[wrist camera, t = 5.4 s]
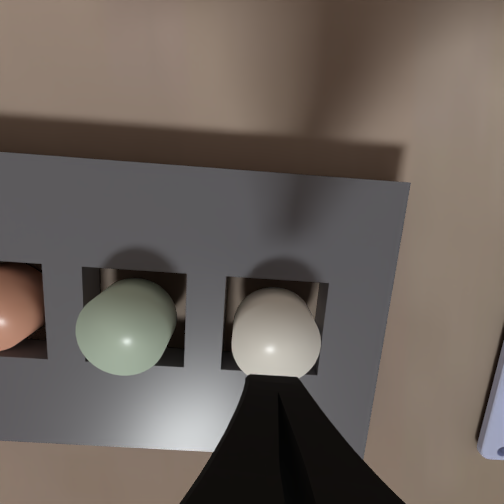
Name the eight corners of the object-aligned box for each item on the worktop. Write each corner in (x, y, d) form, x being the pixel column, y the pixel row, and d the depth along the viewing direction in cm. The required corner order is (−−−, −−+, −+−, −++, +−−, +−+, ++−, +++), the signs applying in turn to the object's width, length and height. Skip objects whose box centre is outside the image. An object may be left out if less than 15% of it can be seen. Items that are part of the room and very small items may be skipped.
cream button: (316, 289, 13) (326, 305, 11) (307, 362, 14) (315, 387, 12) (236, 284, 13) (234, 299, 11) (231, 357, 14) (229, 381, 12)
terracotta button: (52, 264, 14) (26, 275, 12) (56, 333, 15) (32, 353, 13) (-25, 258, 14) (-62, 269, 12) (-17, 329, 15) (-51, 348, 13)
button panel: (393, 182, 13) (410, 182, 12) (352, 434, 16) (363, 459, 15) (-110, 144, 13) (-155, 140, 11) (-69, 411, 15) (-102, 435, 14)
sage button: (178, 280, 13) (167, 295, 11) (175, 354, 14) (165, 378, 12) (95, 275, 13) (73, 289, 11) (98, 349, 14) (77, 372, 12)
